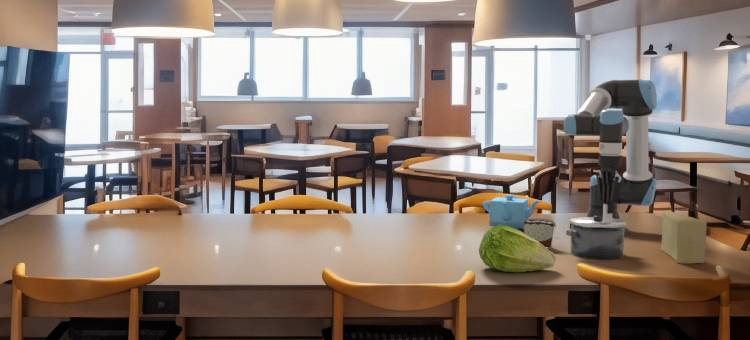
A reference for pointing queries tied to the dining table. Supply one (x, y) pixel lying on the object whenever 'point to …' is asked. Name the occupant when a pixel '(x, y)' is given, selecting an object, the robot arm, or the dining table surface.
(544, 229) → the food container
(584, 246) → the stockpot
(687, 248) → the cheese
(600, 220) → the lid
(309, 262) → the dining table surface
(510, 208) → the teakettle
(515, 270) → the lettuce
